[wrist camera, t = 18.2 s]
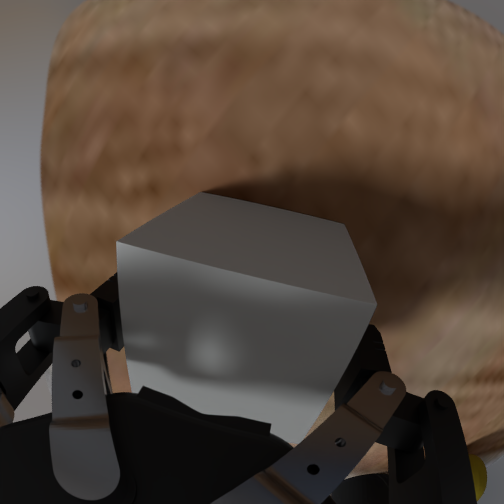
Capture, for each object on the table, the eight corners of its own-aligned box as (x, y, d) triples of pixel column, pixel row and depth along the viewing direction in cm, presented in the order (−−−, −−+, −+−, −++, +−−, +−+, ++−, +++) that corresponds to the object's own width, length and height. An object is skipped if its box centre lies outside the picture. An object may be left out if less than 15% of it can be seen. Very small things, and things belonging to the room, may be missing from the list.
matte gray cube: (344, 224, 13) (377, 304, 6) (306, 339, 15) (299, 444, 9) (200, 191, 13) (116, 241, 7) (188, 310, 16) (133, 397, 10)
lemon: (432, 456, 19) (442, 517, 12) (479, 434, 17) (495, 493, 10) (436, 470, 20) (444, 522, 13) (477, 450, 18) (490, 502, 11)
